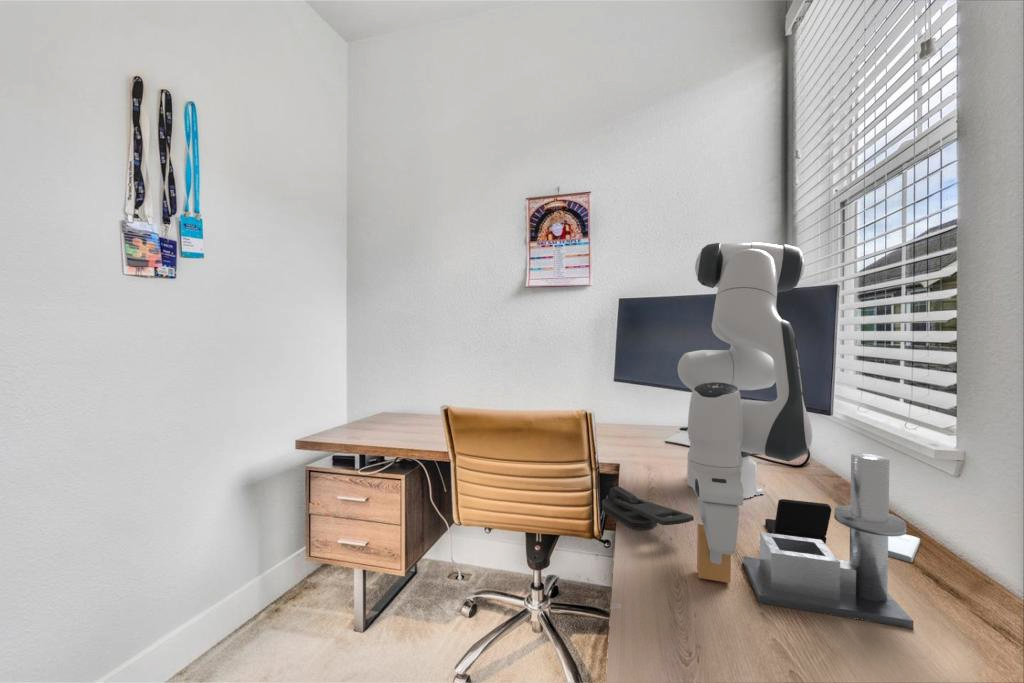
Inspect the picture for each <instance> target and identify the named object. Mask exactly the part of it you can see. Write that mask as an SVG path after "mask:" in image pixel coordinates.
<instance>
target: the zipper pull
mask: <svg viewBox="0 0 1024 683" xmlns="http://www.w3.org/2000/svg"><path fill="white" fill-rule="evenodd" d="M601 508H602V512H603V514H605V515H607V516H609V517H610V518H612V519H614V520H615V521H617V522H619V523H620V524H622V525H624V526H626V527H627V528H629V529H630V530H632V531H651V530H653V529H655V528H656V527H657V526H658V524H659V525H661V526H673V525H681V524H686V523H689V522H692V521H694V520H695V518H694V515H693V514H690V513H686V512H683V511H680V510H677V509H674V508H673V509H672V508H670V507H666V506H663V505H660V504H656V503H653V502H650V501H647V500H644V499H641V498H638V497H637V496H636V495H635V494H633V493H631V492H630V491H628V490H626V489H625V488H623V487H622V486H621V487H620V486H613V487H610V489H609V496H608V497H606V498H604V499H602V500H601Z"/></svg>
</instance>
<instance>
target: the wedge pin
mask: <svg viewBox="0 0 1024 683" xmlns="http://www.w3.org/2000/svg"><path fill="white" fill-rule="evenodd" d="M696 525H697V526H696V528H697V529H696V531H697V532H696V544H697V545H696V570H697V574H698V575H697V576H698V579H703V580H709V581H710V580H711V581H715V582H722V583H728V584H731V581H732V580H731V571H732V568H731V566H732V565H731V564H732V562H731V561H732V559H731V558H732V557H731V556H732V555H728V554H722V562H721V564H716V563H712V562H711V561H710V558H709V547H708V543H707V539H706V535H705V531H704V527H703V523H702V524H701V523H697V524H696Z"/></svg>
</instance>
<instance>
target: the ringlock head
mask: <svg viewBox="0 0 1024 683" xmlns="http://www.w3.org/2000/svg"><path fill="white" fill-rule="evenodd" d="M849 498H850V499H849V500H850V501H849V502H850V503H849V505H838V506H836V507H834V510H833V511H834V514H833V515H834V517H833V518H834V520H836V522H838V523H840V524H841V525H843V526H845V527H847V528H849V560H842V559H838V558H837V557H836V555H835V554H834V553H833V552H832V551H831V549H830V548H829V547H828V546H827V544H826V545H825V543H824V542H823V541H822V540H819V539H811V538H803V537H795V536H787V535H780V534H772V533H769V532H763V531H760V532H759V535H760V536H759V537H760V538H759V558H758V557H751V556H743V557H742V558H743V560H742V563H743V565H744V566H743V567H744V568H745V570H746V571H745V572H746V573H747V576H748V577H749V581H750V583H751V586H752V589H753V590H754V593H755V596H756V598H757V600H758V603H759V602H760V604H767V605H770V606H771V605H773V606H778V607H782V608H788V609H795V610H799V611H800V610H802V611H806V612H813V613H817V612H818V613H819V614H823V613H826V614H825V615H829V614H832V615H831V616H835V615H837V616H836V617H840V616H843V617H842V618H846V617H850V618H849V619H852V618H856V619H855V620H858V619H863V620H862V621H864V620H869V621H873V622H872V623H875V622H878V623H877V624H881V623H883V624H882V625H887V624H888V625H889V626H893V627H898V626H900V627H899V628H904V627H905V629H910V628H912V629H911V630H913V629H914V623H915V622H914V620H913V619H912V617H911V616H910V615H909V614H908V613H907V612H906V610H904V609H903V608H902V607H901V605H900V604H898V602H897V601H896V600H895V599H894V598H893V596H891V595H890V593H888V587H889V586H888V583H889V581H888V577H889V576H888V574H889V556H888V536H902V535H905V534H906V535H907V522H906V521H905V520H904V519H902V518H901V517H899V516H897V515H895V514H892V513H889V512H890V510H889V509H890V508H889V507H890V459H889V458H888V457H884V456H880V455H876V454H870V453H863V452H861V453H859V452H857V453H856V452H854V453H851V454H850V497H849ZM857 618H858V619H857ZM869 621H868V622H869ZM906 627H907V628H906Z"/></svg>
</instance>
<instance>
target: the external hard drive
mask: <svg viewBox="0 0 1024 683" xmlns="http://www.w3.org/2000/svg"><path fill="white" fill-rule="evenodd" d="M920 545H921V538H919V537H917V536H913V535H911V534H910V535H909V534H907V533H906V534H905V535H902V536H888V557H890V558H893V559H897V560H900V561H905V562H907V563H911V564H912V563H913V561H914V559H915V556H916V554H917V552H918V549H919V547H920Z"/></svg>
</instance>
